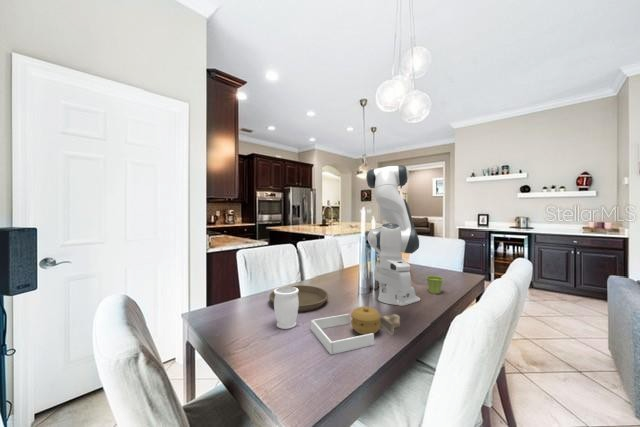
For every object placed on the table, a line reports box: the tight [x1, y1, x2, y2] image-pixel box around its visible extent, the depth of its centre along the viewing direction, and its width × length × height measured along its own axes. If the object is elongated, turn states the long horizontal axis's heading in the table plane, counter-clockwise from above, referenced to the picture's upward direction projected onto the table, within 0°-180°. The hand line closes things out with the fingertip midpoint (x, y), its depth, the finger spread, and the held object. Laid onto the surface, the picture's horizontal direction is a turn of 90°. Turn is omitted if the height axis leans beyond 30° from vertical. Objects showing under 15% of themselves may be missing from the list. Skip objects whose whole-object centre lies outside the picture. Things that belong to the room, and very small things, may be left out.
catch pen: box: [310, 313, 375, 355], centre depth 101 cm, size 17×20×4 cm
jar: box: [273, 286, 299, 330], centre depth 112 cm, size 11×10×15 cm
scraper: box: [379, 313, 401, 336], centre depth 110 cm, size 8×12×4 cm, turn 22°
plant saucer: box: [268, 284, 329, 313], centre depth 139 cm, size 31×31×5 cm
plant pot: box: [425, 275, 444, 295], centre depth 154 cm, size 9×9×9 cm
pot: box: [350, 306, 382, 335], centre depth 105 cm, size 12×12×10 cm
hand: (390, 296), depth 109 cm, fingers open, 8 cm apart
